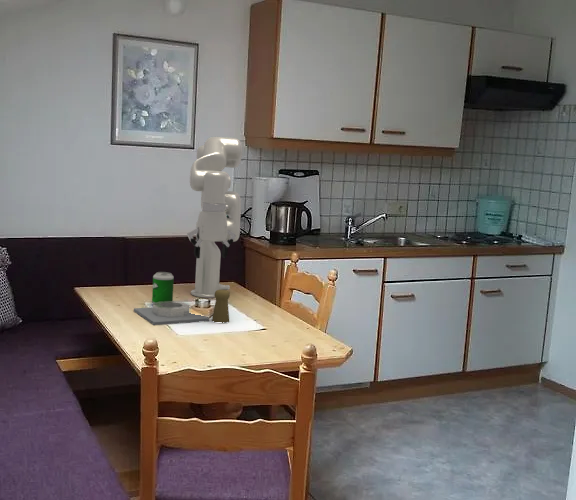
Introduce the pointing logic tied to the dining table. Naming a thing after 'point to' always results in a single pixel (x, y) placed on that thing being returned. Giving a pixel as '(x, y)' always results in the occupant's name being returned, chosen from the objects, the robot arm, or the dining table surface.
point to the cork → (221, 306)
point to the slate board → (159, 320)
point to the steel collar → (171, 309)
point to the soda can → (162, 287)
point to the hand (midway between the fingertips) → (210, 257)
